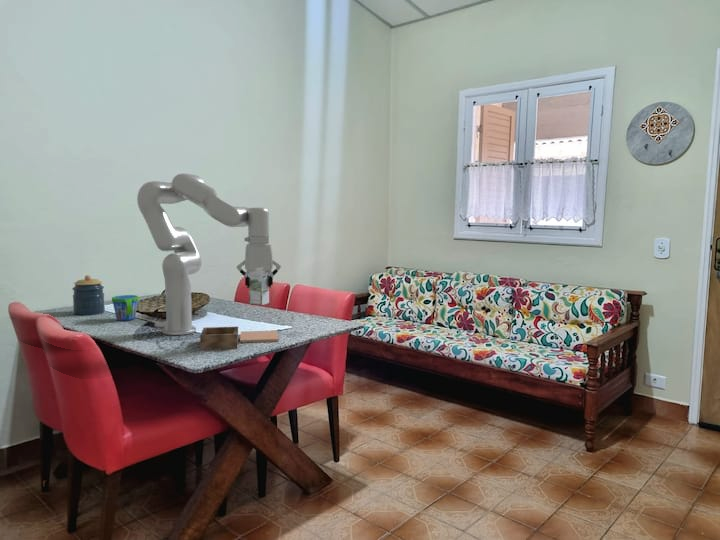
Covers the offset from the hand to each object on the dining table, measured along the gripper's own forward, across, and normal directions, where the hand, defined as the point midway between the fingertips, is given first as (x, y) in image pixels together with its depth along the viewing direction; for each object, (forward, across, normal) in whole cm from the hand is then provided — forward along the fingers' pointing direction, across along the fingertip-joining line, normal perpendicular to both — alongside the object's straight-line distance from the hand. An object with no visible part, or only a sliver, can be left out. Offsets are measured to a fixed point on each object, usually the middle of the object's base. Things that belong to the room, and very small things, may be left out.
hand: (259, 286), depth 192 cm
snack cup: (+20, -57, +41) cm, 73 cm away
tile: (+20, 0, 0) cm, 20 cm away
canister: (+20, -77, +59) cm, 99 cm away
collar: (+20, -14, -8) cm, 25 cm away
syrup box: (+7, 0, 0) cm, 7 cm away
